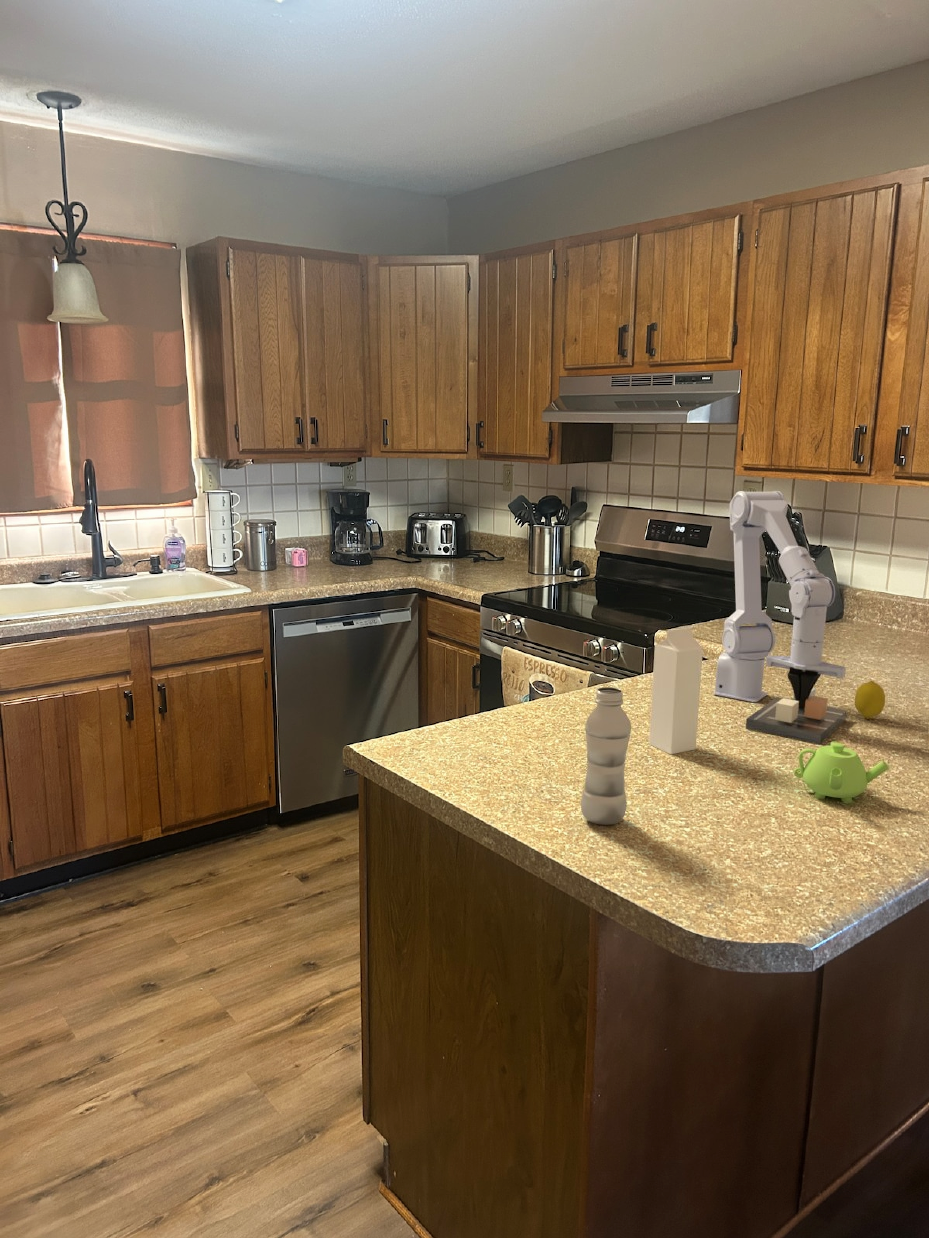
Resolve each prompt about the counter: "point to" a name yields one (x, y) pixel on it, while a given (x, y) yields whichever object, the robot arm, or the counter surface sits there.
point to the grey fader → (810, 693)
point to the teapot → (836, 772)
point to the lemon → (869, 699)
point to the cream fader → (787, 710)
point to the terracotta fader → (815, 707)
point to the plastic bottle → (606, 759)
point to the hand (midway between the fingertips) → (801, 707)
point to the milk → (676, 692)
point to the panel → (796, 723)
